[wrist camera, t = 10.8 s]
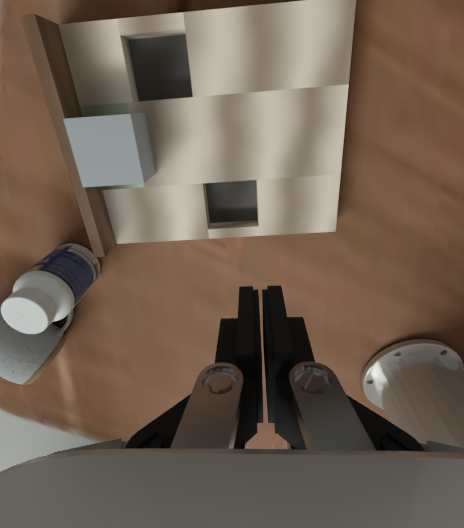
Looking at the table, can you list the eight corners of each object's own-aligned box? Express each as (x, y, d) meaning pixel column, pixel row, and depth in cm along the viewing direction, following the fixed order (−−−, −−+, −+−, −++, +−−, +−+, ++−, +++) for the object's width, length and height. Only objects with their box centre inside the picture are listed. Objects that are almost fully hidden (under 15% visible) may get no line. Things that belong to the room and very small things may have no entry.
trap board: (347, 3, 24) (372, -20, 19) (330, 224, 32) (344, 243, 27) (59, 31, 25) (20, 15, 20) (114, 236, 33) (94, 257, 29)
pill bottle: (65, 232, 33) (3, 277, 24) (109, 260, 35) (66, 312, 26) (46, 267, 35) (-18, 320, 27) (89, 291, 37) (42, 350, 28)
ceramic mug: (49, 355, 41) (13, 404, 35) (-8, 320, 39) (-60, 365, 32) (94, 310, 38) (63, 354, 31) (34, 268, 36) (-14, 307, 29)
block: (145, 112, 26) (130, 113, 22) (156, 173, 28) (144, 183, 24) (87, 116, 26) (63, 118, 22) (102, 176, 28) (82, 187, 25)
